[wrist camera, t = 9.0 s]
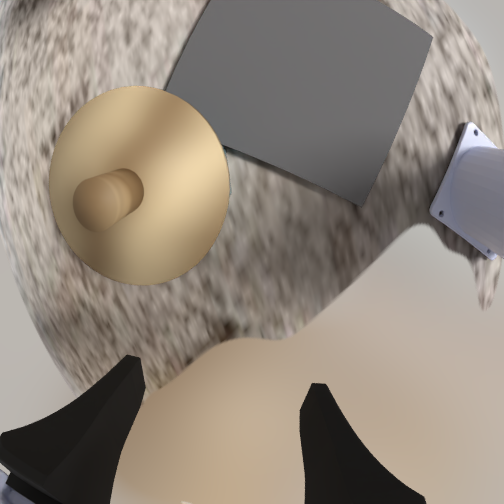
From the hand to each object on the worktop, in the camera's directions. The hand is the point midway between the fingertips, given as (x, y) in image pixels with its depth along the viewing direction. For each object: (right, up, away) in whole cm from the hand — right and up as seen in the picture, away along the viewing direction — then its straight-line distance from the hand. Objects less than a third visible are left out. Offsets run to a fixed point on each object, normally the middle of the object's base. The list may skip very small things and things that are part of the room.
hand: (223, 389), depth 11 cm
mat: (+4, +17, +3) cm, 18 cm away
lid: (-5, +9, +3) cm, 11 cm away
